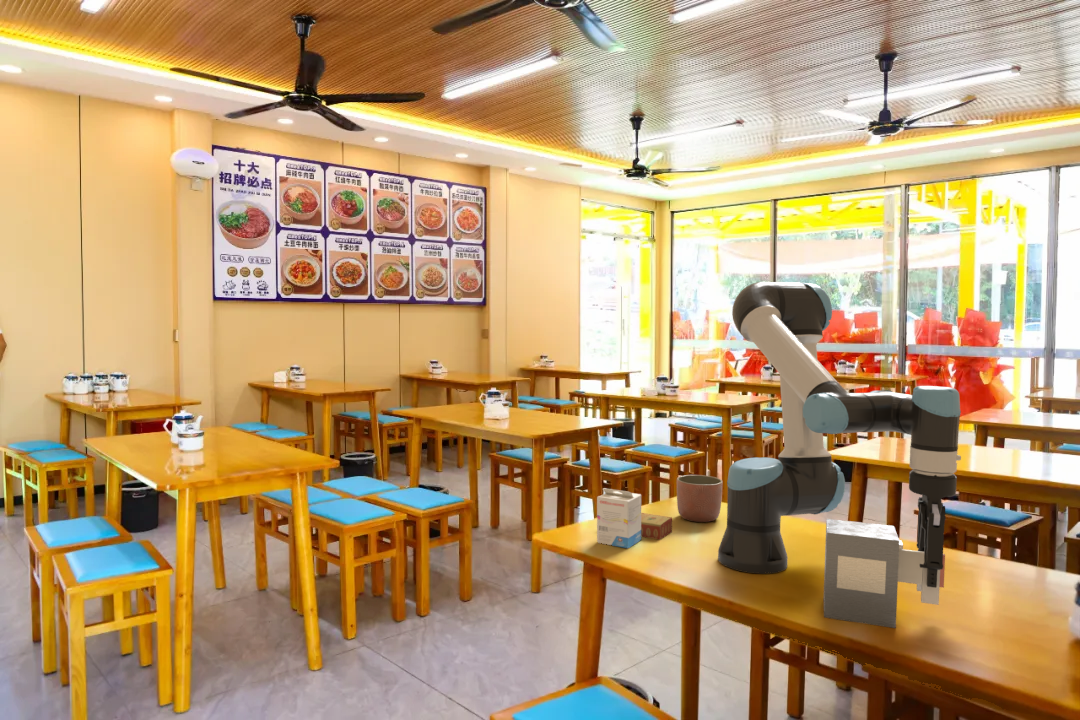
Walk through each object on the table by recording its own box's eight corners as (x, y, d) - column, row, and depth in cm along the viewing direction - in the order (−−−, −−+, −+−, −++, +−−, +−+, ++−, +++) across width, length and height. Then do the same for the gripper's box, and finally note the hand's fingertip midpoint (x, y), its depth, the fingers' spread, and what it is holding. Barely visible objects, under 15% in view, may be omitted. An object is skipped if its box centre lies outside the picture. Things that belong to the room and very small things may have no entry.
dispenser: (824, 617, 132) (827, 532, 131) (823, 597, 142) (826, 518, 141) (902, 629, 127) (905, 541, 127) (896, 608, 137) (899, 526, 136)
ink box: (642, 540, 178) (643, 487, 177) (627, 549, 170) (628, 494, 170) (611, 534, 182) (612, 482, 181) (595, 542, 175) (596, 489, 174)
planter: (676, 523, 193) (677, 483, 192) (675, 511, 205) (676, 473, 204) (723, 526, 191) (724, 485, 190) (719, 513, 203) (720, 475, 202)
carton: (660, 541, 178) (660, 524, 178) (602, 531, 186) (602, 515, 186) (672, 532, 185) (672, 516, 185) (616, 523, 193) (616, 507, 193)
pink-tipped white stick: (836, 573, 136) (837, 542, 135) (836, 572, 136) (837, 541, 136) (943, 587, 129) (945, 555, 129) (943, 586, 130) (944, 554, 129)
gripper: (966, 484, 119) (960, 619, 120) (947, 464, 136) (942, 582, 138) (916, 480, 122) (910, 612, 123) (904, 460, 139) (899, 577, 140)
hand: (927, 596), depth 130 cm, fingers open, 5 cm apart
